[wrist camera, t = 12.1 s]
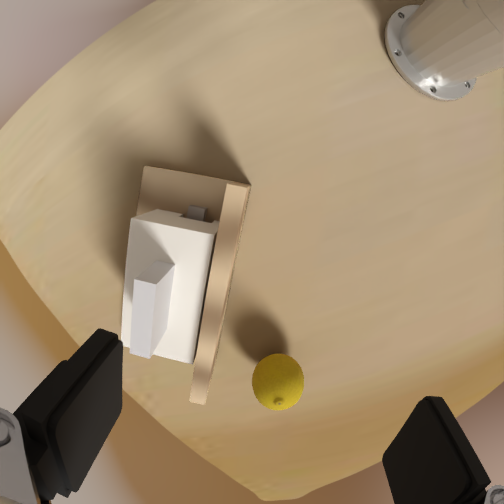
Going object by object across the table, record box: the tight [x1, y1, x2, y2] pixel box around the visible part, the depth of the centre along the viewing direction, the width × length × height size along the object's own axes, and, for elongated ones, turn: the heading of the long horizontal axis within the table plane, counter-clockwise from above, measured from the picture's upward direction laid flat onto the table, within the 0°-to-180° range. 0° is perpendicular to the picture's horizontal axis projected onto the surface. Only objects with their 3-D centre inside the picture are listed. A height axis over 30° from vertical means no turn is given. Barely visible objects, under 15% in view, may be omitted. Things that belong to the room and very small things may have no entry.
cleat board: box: [136, 166, 251, 405], centre depth 30 cm, size 20×11×9 cm, turn 168°
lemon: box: [252, 354, 304, 410], centre depth 33 cm, size 6×6×8 cm
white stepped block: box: [121, 209, 220, 364], centre depth 27 cm, size 12×7×12 cm, turn 168°
